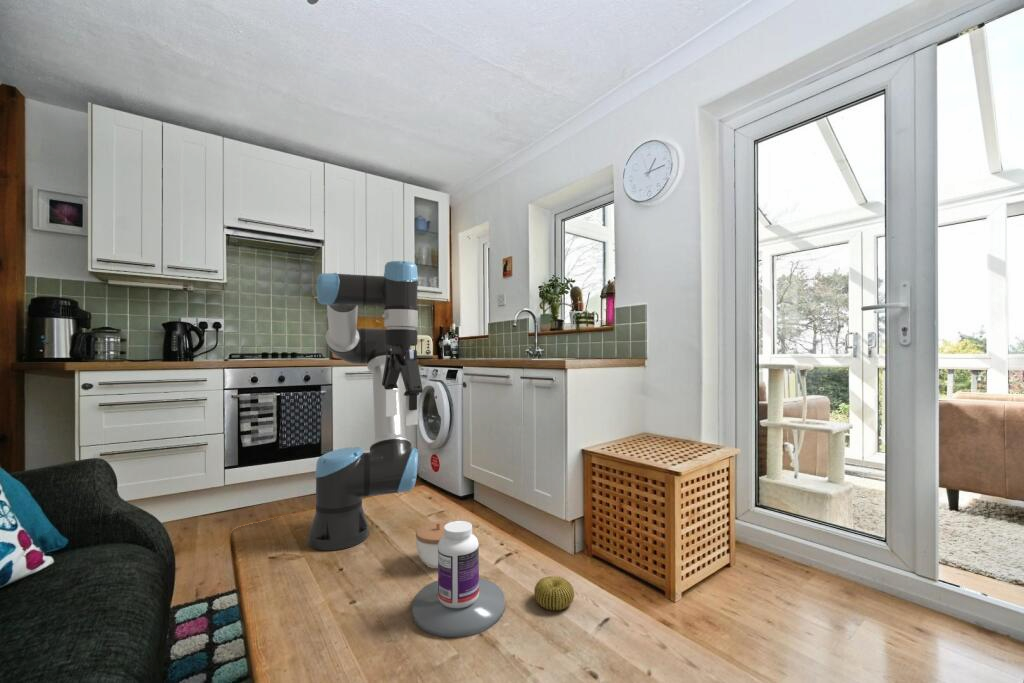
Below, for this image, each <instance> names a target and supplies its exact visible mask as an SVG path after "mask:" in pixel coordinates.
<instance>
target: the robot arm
mask: <svg viewBox="0 0 1024 683" xmlns="http://www.w3.org/2000/svg"><path fill="white" fill-rule="evenodd" d="M316 282H317V283H316V297H317V298H316V299H317V303H318V304H320V305H326V308H327V310H326V311H327V323H328V324H327V325H328V329H327V330H326V333H325V342H326V347H328V350H330V352H331V353H332V354H333V355H335V356H336V357H337V358H339V359H340V360H342V361H344V362H347V363H350V364H356V365H359V364H360V365H361V364H363V365H364V364H365V365H366V367H367V370H368V371H369V372H370V373H372V391H373V394H372V395H373V419H374V420H373V421H374V441H373V442H372V444H371V445H370V446H369V452H364V451H363V449H362V448H361V447H358V446H351V447H345V448H344V447H343V448H338V449H334V450H332V451H328V452H326V453H324V454H322V455H321V456H320V457H319V458H318V459H317V461H316V467H315V474H314V477H315V480H316V481H315V513H314V517H313V518H312V519H313V520H312V522H311V526H310V528H309V530H308V536H307V537H308V540H307V541H308V543H307V544H308V546H309V547H310V548H312V549H314V550H318V551H337V550H344V549H348V548H351V547H354V546H357V545H358V544H361V543H363V542H364V541H365V540H367V539H368V537H369V534H370V531H369V530H370V528H369V527H370V525H369V522H368V520H367V516H366V514H365V510H364V508H363V498H364V497H365V498H366V497H372V496H381V495H392V494H396V495H397V494H399V493H405V492H410V491H412V490H413V489H414V487H415V485H416V481H417V475H418V465H419V452H418V449H417V448H414V447H413V448H412V442H411V441H410V440H409V439H408V438H406V431H405V428H406V427H407V426H415V425H416V426H417V425H418V424H419V422H418V421H419V415H418V414H419V395H420V394H422V393H423V385H422V379H421V374H420V373H421V372H420V369H419V362H418V351H417V349H411V347H412V346H414V347H416V346H417V345H418V331H417V329H416V328H418V327H419V326H418V324H419V321H418V320H419V318H418V317H419V316H418V314H419V311H418V282H419V275H418V265H416V264H415V263H414V262H411V261H405V260H390V261H388V262H386V263H385V265H384V272H383V275H365V274H349V273H348V274H347V273H337V272H333V273H332V272H331V273H319V274H318V276H317V281H316ZM359 306H364V307H366V306H367V307H384V308H383V310H384V313H382V315H381V317H382V318H383V319H384V320H383V321H384V322H383V323H384V327H385V328H370V327H369V328H367V327H366V328H365V327H364V328H363V327H362V328H360V327H358V326H357V325H358V311H359ZM402 381H403V385H404V389H405V392H404V393H403V388H402ZM403 396H404V400H403ZM403 401H404V403H403ZM405 426H406V427H405Z"/></svg>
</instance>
